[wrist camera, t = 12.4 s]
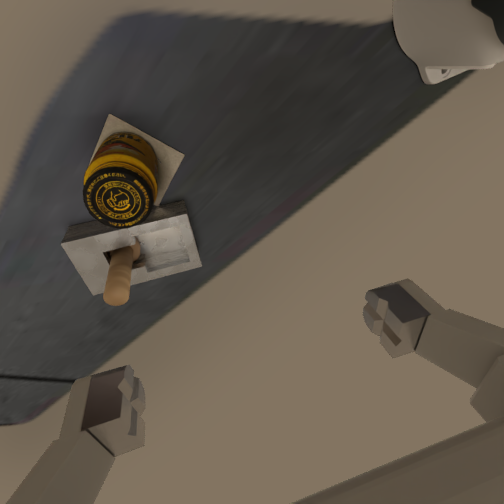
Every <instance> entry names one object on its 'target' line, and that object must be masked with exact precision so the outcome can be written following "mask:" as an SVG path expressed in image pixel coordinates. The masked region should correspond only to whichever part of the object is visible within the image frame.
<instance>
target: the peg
mask: <svg viewBox="0 0 504 504" xmlns="http://www.w3.org/2000/svg"><path fill="white" fill-rule="evenodd" d="M134 237H135V236H134ZM135 239H136V242H135V244H134V245H130V246H126V247H122V248H118V249H114V250H110V251H106V253H107V255H108V257H109V259H110V260H111V261H110V266H109V271H108V276H107V280H106V285H105V290H104V295H103V299H104V301H105V302H106V303H108V304H110V305H114V306H118V305H122V304H124V303H126V302H127V301H128V299H129V291H130V282H131V272H132V263H134V262H135V261H136V260H137V259H138V258H139V256H140V249H141V244H140V241H139V240H138V238H137V237H135Z"/></svg>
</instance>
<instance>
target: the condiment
mask: <svg viewBox="0 0 504 504" xmlns="http://www.w3.org/2000/svg"><path fill="white" fill-rule="evenodd" d="M183 157H184V154H182V153H180V152H178V151H176V150H175V149H173V148H171V147H169V146H167V145H165V144H164V143H162V142H160V141H158V140H157V139H155V138H153V137H151V136H150V135H148V134H146V133H144V132H142V131H140V130H139V129H137V128H135V127H133V126H131V125H130V124H128V123H126V122H124V121H122V120H121V119H119V118H117V117H115V116H113V115H111V114H109V115H108V118H107V120H106V123H105V125H104V128H103V131H102V133H101V136H100V138H99V141H98V143H97V146H96V148H95V151H94V153H93V156H92V158H91V161H90V163H89V166H88V169H87V170H86V172H85V175H84V189H83V200H84V203H85V206H86V207H87V209H88V211H89V213H90V214H91V215H92V216H93V217H94V218H95V219H96V220H98V221H99V222H100V223H102V224H103V225H106V226H109V227H112V228H117V229H128V228H131V227H133V226H136V225H139V224H141V223H142V222H144V221H145V220H146V219H147V218H148V216H149V215H150V213H151V211H152V209H153V205H156V206H159V204H160V202H161V200H162V198H163V196H164V194H165V192H166V190H167V188H168V186H169V184H170V182H171V180H172V178H173V176H174V174H175V173H176V171H177V169H178V167H179V165H180V163H181V161H182V159H183ZM158 158H159V160H158ZM159 161H161V164H160V162H159Z"/></svg>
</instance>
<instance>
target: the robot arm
mask: <svg viewBox="0 0 504 504" xmlns="http://www.w3.org/2000/svg"><path fill="white" fill-rule="evenodd" d="M393 23H394V29H395V33H396V37H397V40H398V42H399V44H400V46H401V48H402V50H403V51H404V52H405V54H406V55H407V56H408V57H409V58H411V59H412V60H413V61H414V62H415V63H416V64H417V66H418V68H419V72H420V75H421V77H422V80H423V82H424V83H425V84H436V83H439V82H441V81H443V80H446V79H448V78H450V77H453V76H455V75H457V74H460V73H462V72H464V71H467V70H469V69H489V68H492V67H493V66H494V65H495V64H496V63H499V62H502V61H504V0H393ZM442 69H443V70H442ZM441 71H442V72H441ZM365 299H366V300H367V301H368V303H367V304H366V305H365V306H364V308H363V316H364V320H365V323H366V325H367V326H368V328H369V329H370V330H371V332H372V333H374V334H376V335H378V336H380V343H381V345H382V346H383V347H384V348H385V350H386V351H387V352H388V353H389V355H391V357H392V358H396V357H399V356H402V355H405V354H408V353H411V352H414V351H415V353H416V354H418V355H420V356H422V357H423V358H425V359H427V360H428V361H430V362H432V363H434V364H435V365H437V366H439V367H441V368H442V369H444V370H446V371H447V372H450V373H451V374H453V375H454V376H456V377H458V378H460V379H461V380H463V381H465V382H467V383H468V384H470V385H472V386H473V387H475V388H477V389H476V391H475V392H474V394H473V395H472V397H471V398H470V404H471V405H472V406H473V408H474V409H475V410H476V411H477V412H478V413H479V414H480V415H481V416H482V418H483V419H484V420H485V421H486V423H484V424H481V425H479V426H476V427H474V428H472V429H469V430H467V431H464V432H462V433H459V434H457V435H455V436H452V437H450V438H447V439H445V440H443V441H440V442H438V443H435V444H433V445H430V446H428V447H426V448H423V449H421V450H419V451H416V452H414V453H411V454H409V455H406V456H404V457H401V458H399V459H397V460H394V461H392V462H389V463H387V464H385V465H382V466H380V467H377V468H375V469H372V470H370V471H368V472H365V473H363V474H360V475H358V476H356V477H353V478H351V479H348V480H346V481H343V482H341V483H339V484H336V485H334V486H331V487H329V488H327V489H324V490H322V491H319V492H317V493H315V494H312V495H310V496H307V497H305V498H303V499H300V500H298V501H296V502H293V503H290V504H504V328H501V327H498V326H496V325H493V324H490V323H487V322H485V321H482V320H479V319H476V318H473V317H471V316H468V315H465V314H462V313H460V312H457V311H454V310H451V309H448V310H445V309H444V308H443V307H442V306H441V305H439V304H438V303H437V302H436V301H435V300H434V299H432V298H431V297H430V296H429V295H428V294H427V293H425V292H424V291H423V290H422V289H421V288H420V287H419V286H418V285H416V284H415V283H414V282H413V281H411V280H409V279H405V280H401V281H398V282H395V283H390V284H387V285H384V286H381V287H378V288H375V289H372V290H369V291H368V292H367V293H366V296H365ZM133 375H134V370H133V369H132V367H131V366H130V365H126V366H123V367H119V368H116V369H112V370H109V371H105V372H101V373H98V374H94V375H91V376H87V377H84V378H81V379H77V380H76V381H75V382H74V384H73V385H72V388H71V392H70V396H69V400H68V404H67V408H66V412H65V416H64V420H63V424H62V428H61V432H60V436H59V439H58V440H55V441H53V442H52V443H51V445H50V446H49V447H48V449H47V450H46V451H45V452H44V454H43V455H42V456H41V458H40V459H39V460H38V462H37V463H36V464H35V466H34V467H33V468H32V470H31V471H30V472H29V474H28V475H27V476H26V477H25V479H24V480H23V481H22V483H21V484H20V485H19V487H18V488H17V489H16V491H15V492H14V493H13V495H12V496H11V498H10V499H9V500H8V501H7V503H6V504H93V503H94V501H95V499H96V497H97V495H98V493H99V491H100V489H101V487H102V485H103V483H104V481H105V479H106V477H107V475H108V473H109V471H110V468H111V467H112V465H113V463H114V461H115V457H116V456H119V455H121V454H124V453H126V452H129V451H132V450H135V449H137V448H140V447H142V446H144V440H145V439H144V438H145V422H144V421H143V419H142V418H141V414H142V413H143V411H144V409H145V393H144V388H143V385H142V383H141V381H140V379H139V378H136V377H134V376H133Z"/></svg>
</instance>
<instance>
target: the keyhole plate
mask: <svg viewBox="0 0 504 504" xmlns="http://www.w3.org/2000/svg"><path fill="white" fill-rule="evenodd" d="M134 236H135V237H137V238H138V240H139V241H140V244H141V249H140V256H139V258H138V259H137V260H136V261H135V262H134V263H132V272H131V282H130V285H134V284H138V283H141V282H145V281H149V280H153V279H156V278H160V277H164V276H168V275H171V274H175V273H179V272H183V271H186V270H190V269H194V268H198V267H201V266H202V264H201V260H200V255H199V251H198V247H197V244H196V240H195V237H194V233H193V230H192V226H191V223H190V219H189V216H188V212H187V209H186V205H185V202H184V200H182V201H178V202H173V203H169V204H165V205H160V206H156V207H153V209H152V211H151V213H150V215H149V216H148V218H147V219H146V220H145V221H144V222H142V223H141V224H139V225H136V226H133V227H131V228H128V229H117V228H112V227H109V226H106V225H103V224H102V223H100V222H99V221H98V220H95V221H90V222H86V223H82V224H77V225H73V226H69V228H68V230H67V232H66V234H65V236H64V238H63V240H62V242H61V245H62V247H63V248H64V250H65V252H66V253H67V255H68V256H69V258H70V260H71V261H72V263H73V264H74V266H75V267H76V269H77V271H78V272H79V274H80V275H81V277H82V279H83V280H84V282H85V283H86V285H87V286H88V288H89V290H90V291H91V293H92V294H93V295H96V294H100V293H104V290H105V285H106V280H107V276H108V271H109V266H110V261H111V260H110V259H109V257H108V255H107V253H106V251H110V250H114V249H118V248H122V247H126V246H130V245H134V244H135V242H136V239H135V237H134Z"/></svg>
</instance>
